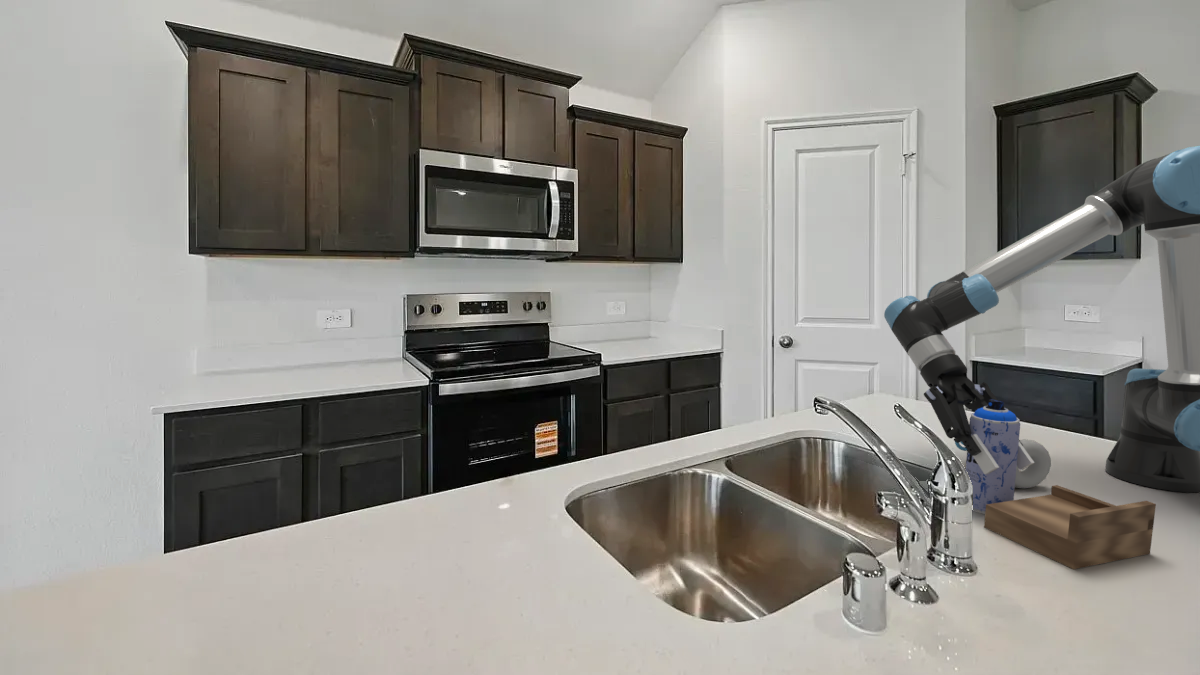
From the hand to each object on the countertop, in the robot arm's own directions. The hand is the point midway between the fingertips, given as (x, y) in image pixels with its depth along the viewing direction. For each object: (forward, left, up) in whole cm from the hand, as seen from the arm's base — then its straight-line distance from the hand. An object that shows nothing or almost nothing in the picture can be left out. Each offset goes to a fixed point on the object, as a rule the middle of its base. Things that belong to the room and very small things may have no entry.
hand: (1009, 468), depth 98 cm
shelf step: (0, +10, -9) cm, 13 cm away
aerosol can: (0, -3, -9) cm, 9 cm away
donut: (-15, -8, -9) cm, 19 cm away
